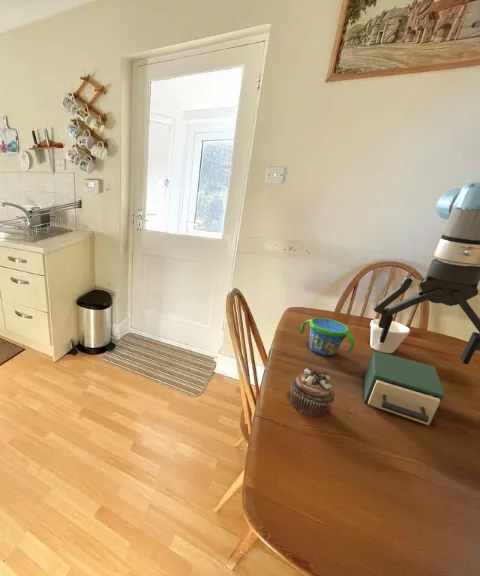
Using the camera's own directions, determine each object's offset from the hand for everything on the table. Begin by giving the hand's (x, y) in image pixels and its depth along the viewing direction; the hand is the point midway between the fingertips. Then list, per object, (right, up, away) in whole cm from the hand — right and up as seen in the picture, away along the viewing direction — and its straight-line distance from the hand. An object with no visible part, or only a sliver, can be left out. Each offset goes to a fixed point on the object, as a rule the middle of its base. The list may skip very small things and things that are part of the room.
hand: (420, 350), depth 72 cm
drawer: (+4, -17, +10) cm, 20 cm away
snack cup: (+3, -8, +36) cm, 37 cm away
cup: (+25, -7, +37) cm, 45 cm away
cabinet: (+7, -16, +14) cm, 22 cm away
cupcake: (-18, -17, +12) cm, 28 cm away
